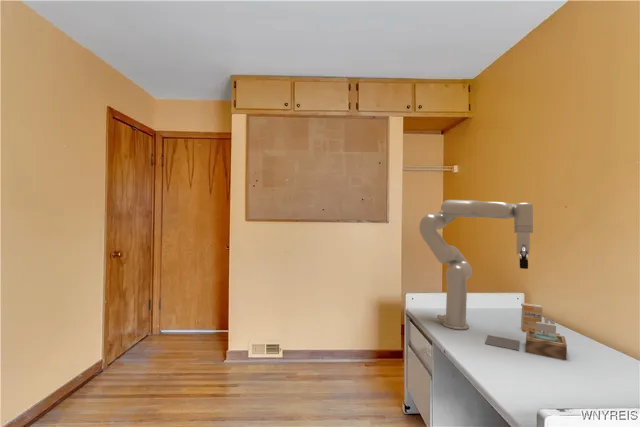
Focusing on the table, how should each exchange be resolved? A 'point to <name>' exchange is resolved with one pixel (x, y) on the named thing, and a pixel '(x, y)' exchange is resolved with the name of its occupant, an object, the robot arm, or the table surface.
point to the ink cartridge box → (551, 323)
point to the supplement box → (530, 316)
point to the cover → (545, 331)
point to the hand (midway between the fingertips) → (523, 267)
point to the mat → (502, 342)
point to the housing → (546, 346)
